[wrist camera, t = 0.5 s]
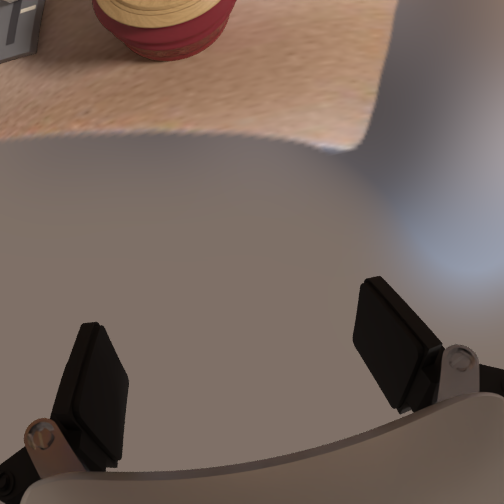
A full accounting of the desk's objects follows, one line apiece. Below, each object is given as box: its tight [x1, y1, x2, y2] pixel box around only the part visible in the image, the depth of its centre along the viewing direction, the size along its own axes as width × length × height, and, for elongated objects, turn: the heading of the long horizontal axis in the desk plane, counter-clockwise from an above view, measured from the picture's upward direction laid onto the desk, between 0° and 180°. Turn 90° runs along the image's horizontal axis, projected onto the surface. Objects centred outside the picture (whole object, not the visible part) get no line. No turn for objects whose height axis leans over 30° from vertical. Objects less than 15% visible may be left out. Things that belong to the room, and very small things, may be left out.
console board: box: [0, 0, 45, 64], centre depth 19 cm, size 15×14×2 cm
